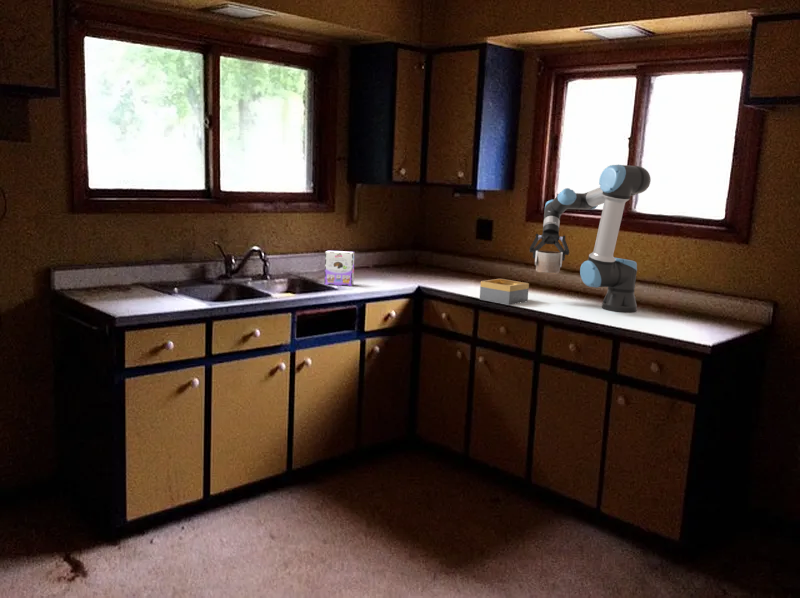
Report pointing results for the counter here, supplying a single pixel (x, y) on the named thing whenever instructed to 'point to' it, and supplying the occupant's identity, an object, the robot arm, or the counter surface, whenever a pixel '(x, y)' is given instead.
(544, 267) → the planter
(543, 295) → the counter surface
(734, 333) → the counter surface
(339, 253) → the candy box
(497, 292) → the square cup holder
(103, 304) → the counter surface
